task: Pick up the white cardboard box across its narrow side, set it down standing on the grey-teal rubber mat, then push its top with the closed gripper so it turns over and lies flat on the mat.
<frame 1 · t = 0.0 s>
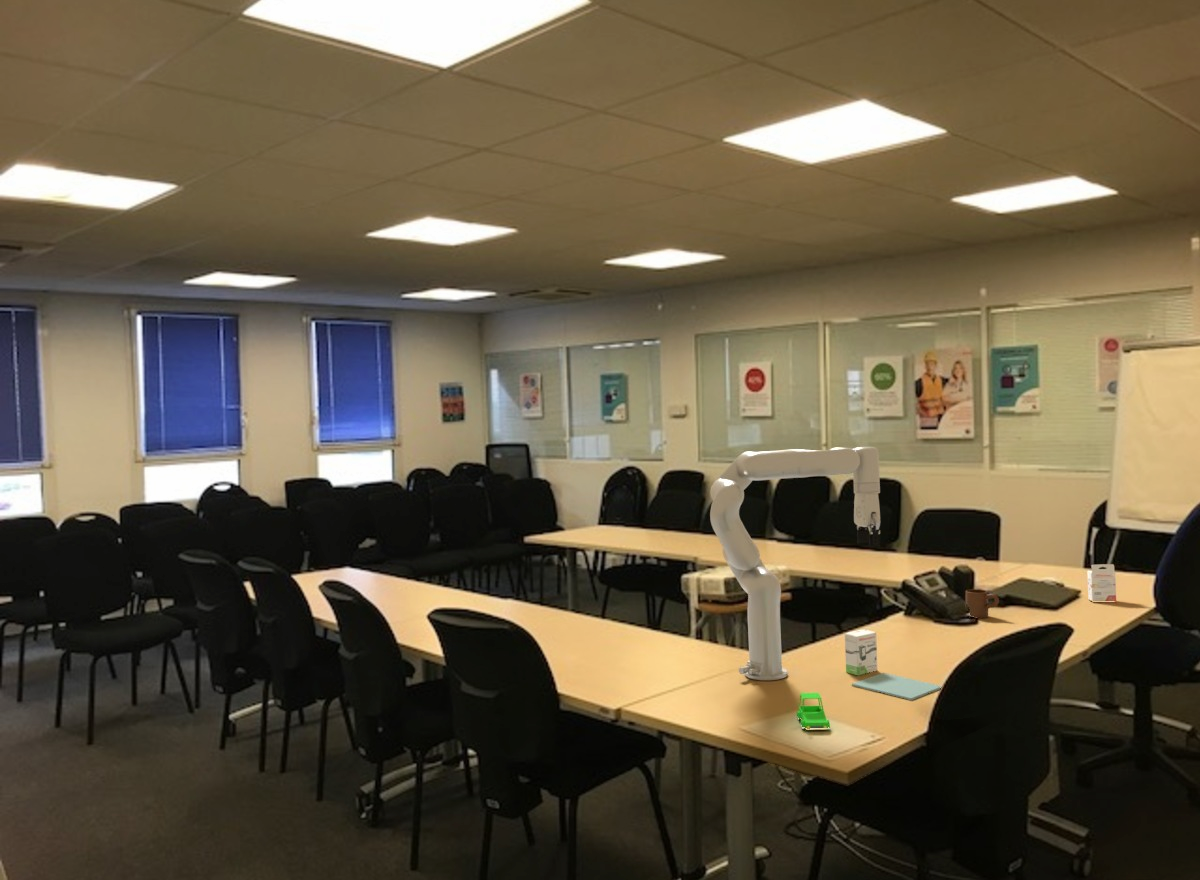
hand: (868, 545, 276), 37 cm above the table, tool pointing down, fingers open, 9 cm apart
ink cartridge box: (1102, 602, 352), on the table
mat: (896, 687, 258), on the table
white cardboard box: (861, 672, 275), on the table
toy car: (813, 725, 231), on the table
mug: (983, 618, 335), on the table
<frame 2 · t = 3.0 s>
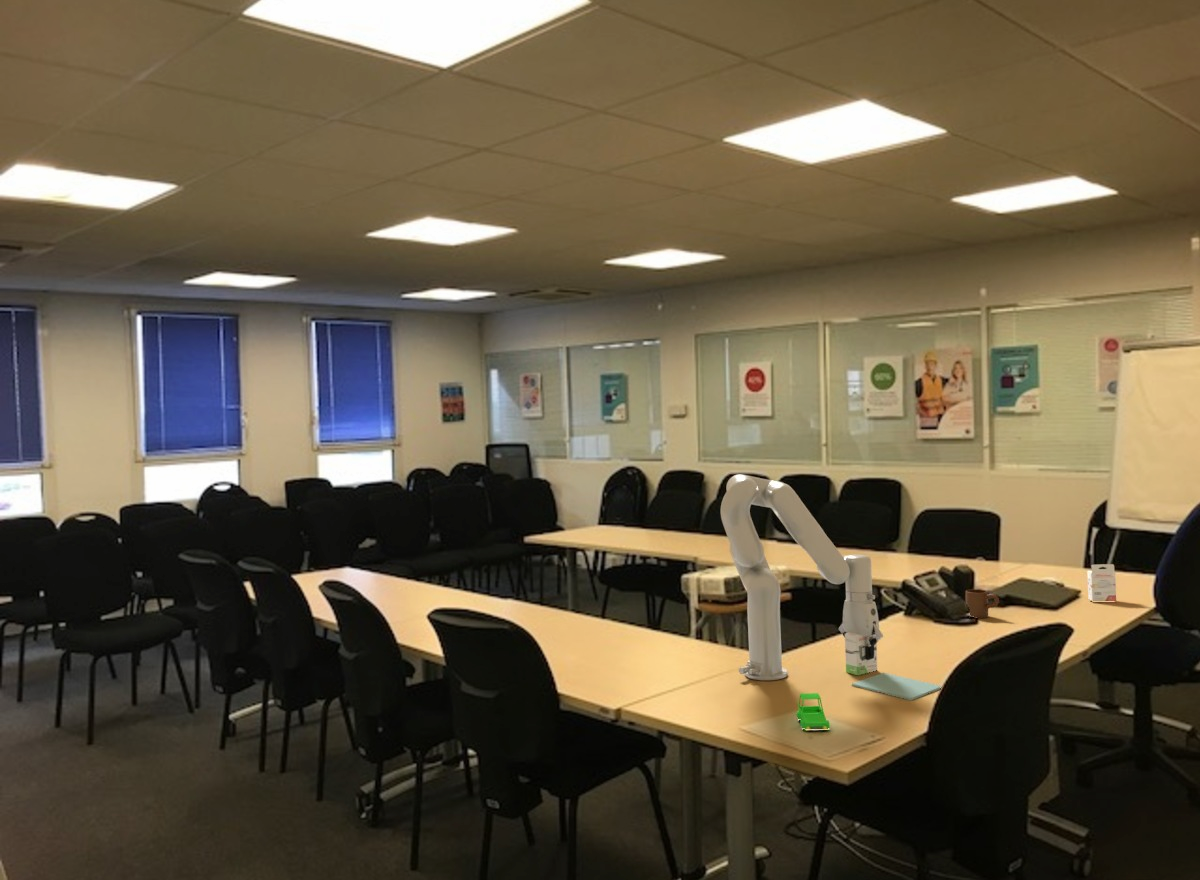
hand: (861, 656, 274), 5 cm above the table, tool pointing down, fingers closed on white cardboard box, 5 cm apart
white cardboard box: (861, 672, 275), on the table, touching gripper
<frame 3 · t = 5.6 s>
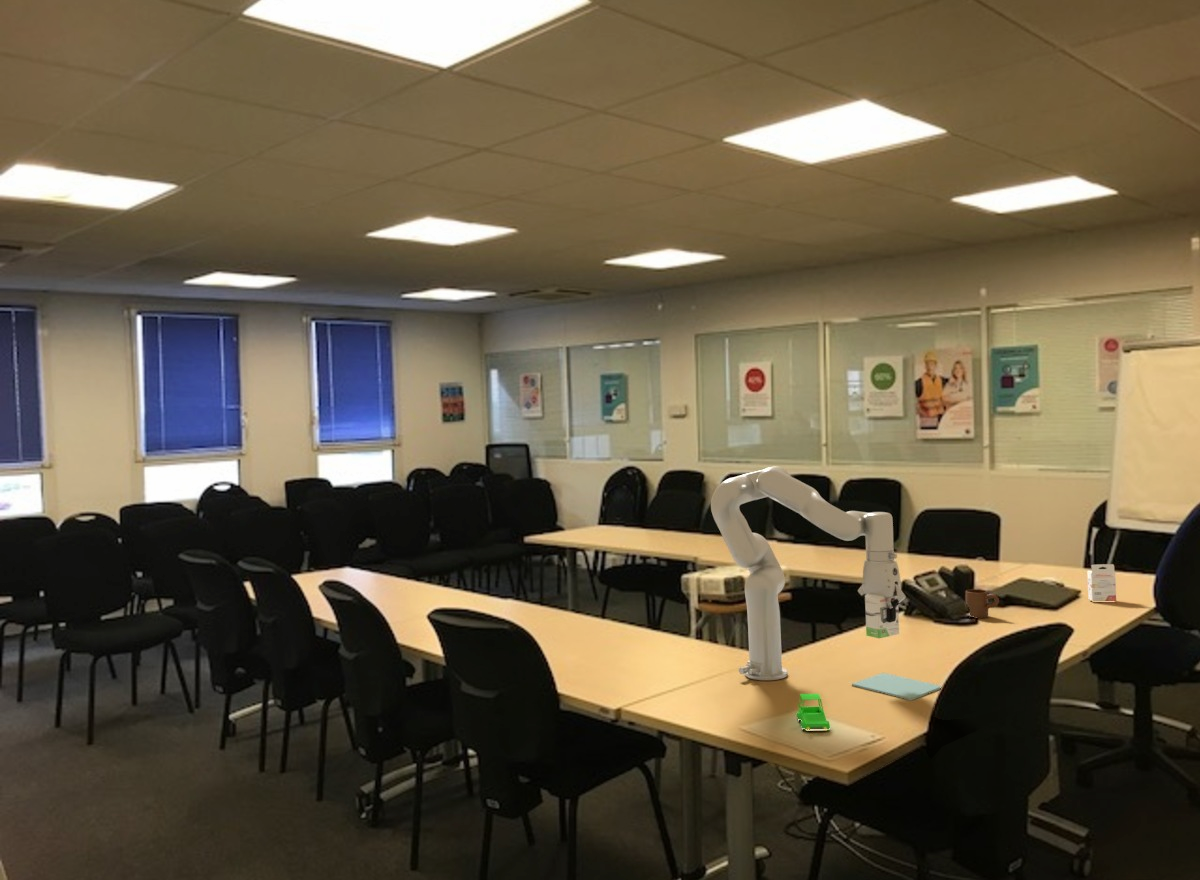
hand: (882, 619, 261), 19 cm above the table, tool pointing down, fingers closed on white cardboard box, 5 cm apart
white cardboard box: (882, 635, 261), point 14 cm above the table, touching gripper
when the fingers open (6 cm above the table, at t = 8.2 s): white cardboard box stays where it is, resting on mat.
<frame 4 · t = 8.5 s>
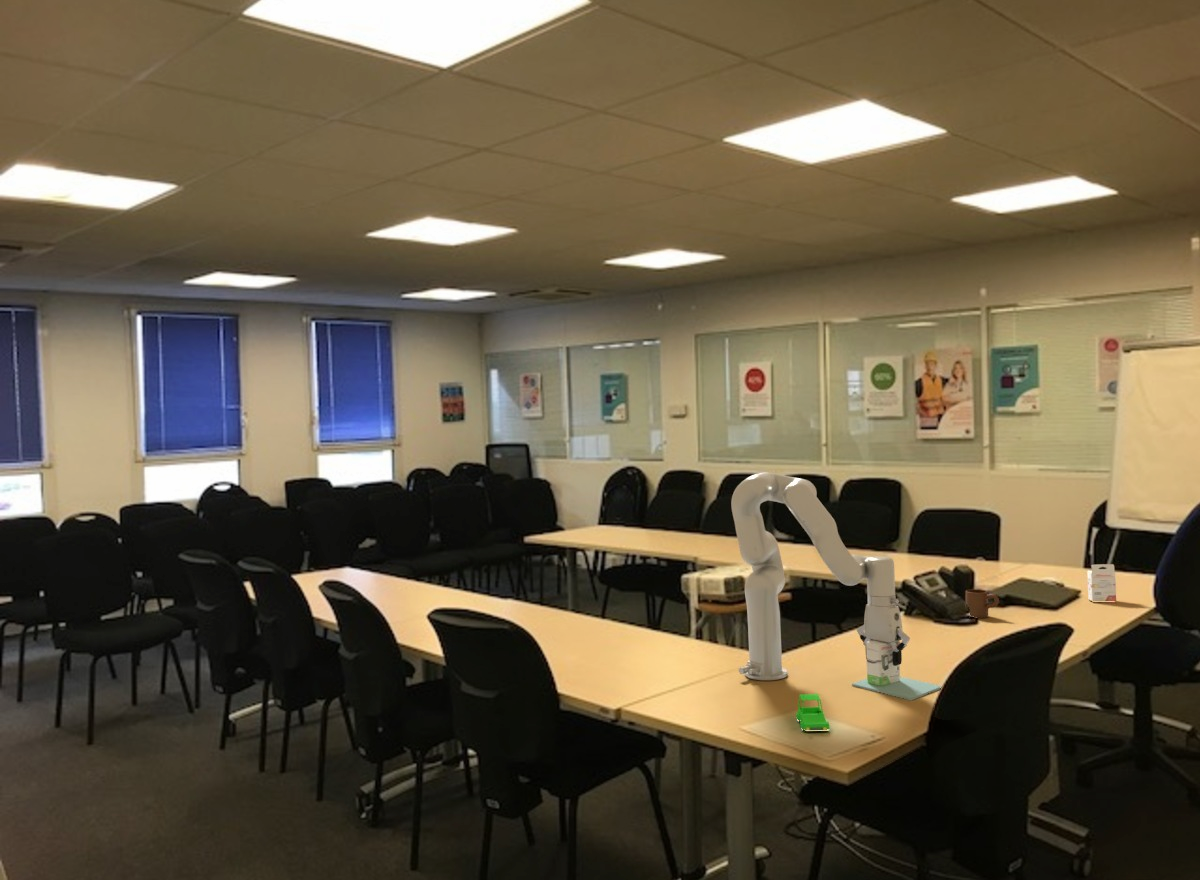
hand: (883, 661, 261), 6 cm above the table, tool pointing down, fingers open, 8 cm apart
white cardboard box: (883, 682, 261), resting on mat
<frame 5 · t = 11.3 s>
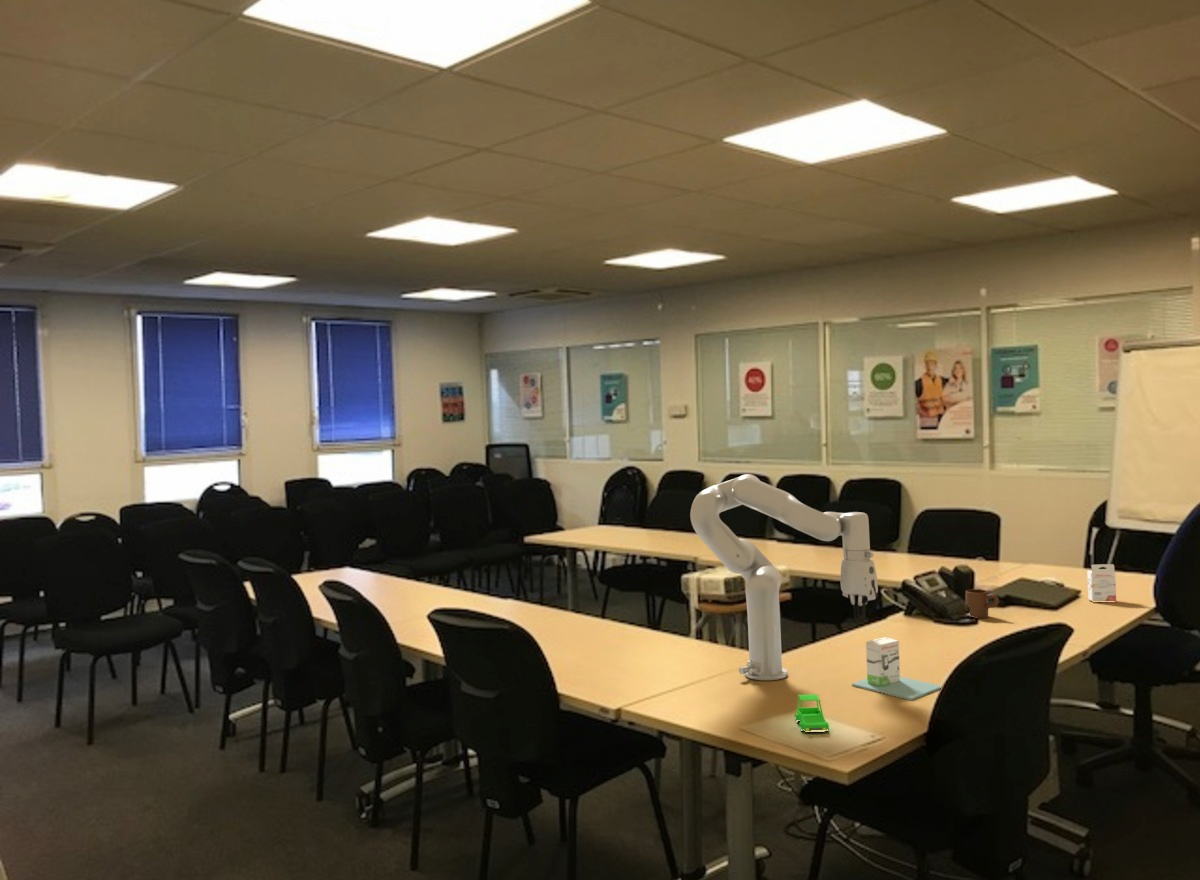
hand: (860, 618, 267), 18 cm above the table, tool pointing down, fingers closed
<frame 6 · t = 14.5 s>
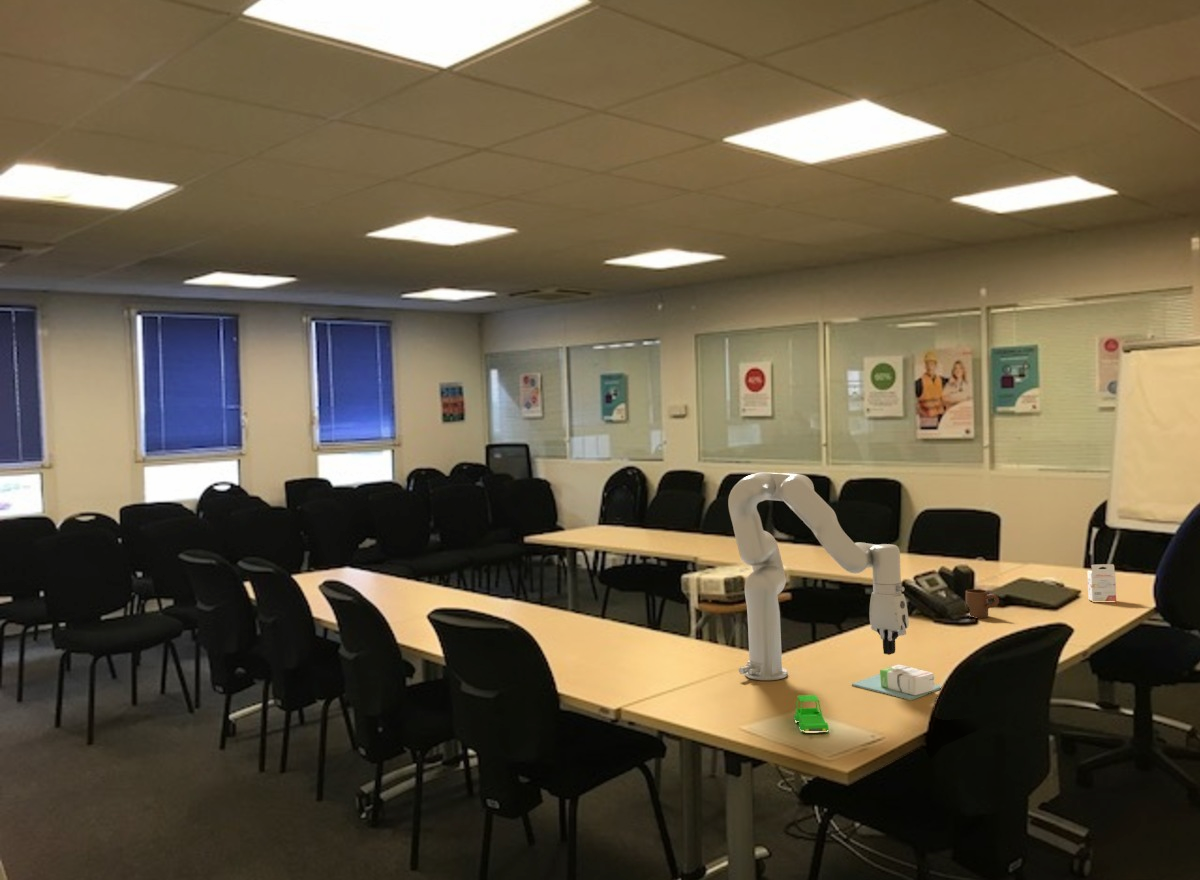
hand: (889, 653, 260), 9 cm above the table, tool pointing down, fingers closed
white cardboard box: (889, 674, 260), point 3 cm above the table, touching mat
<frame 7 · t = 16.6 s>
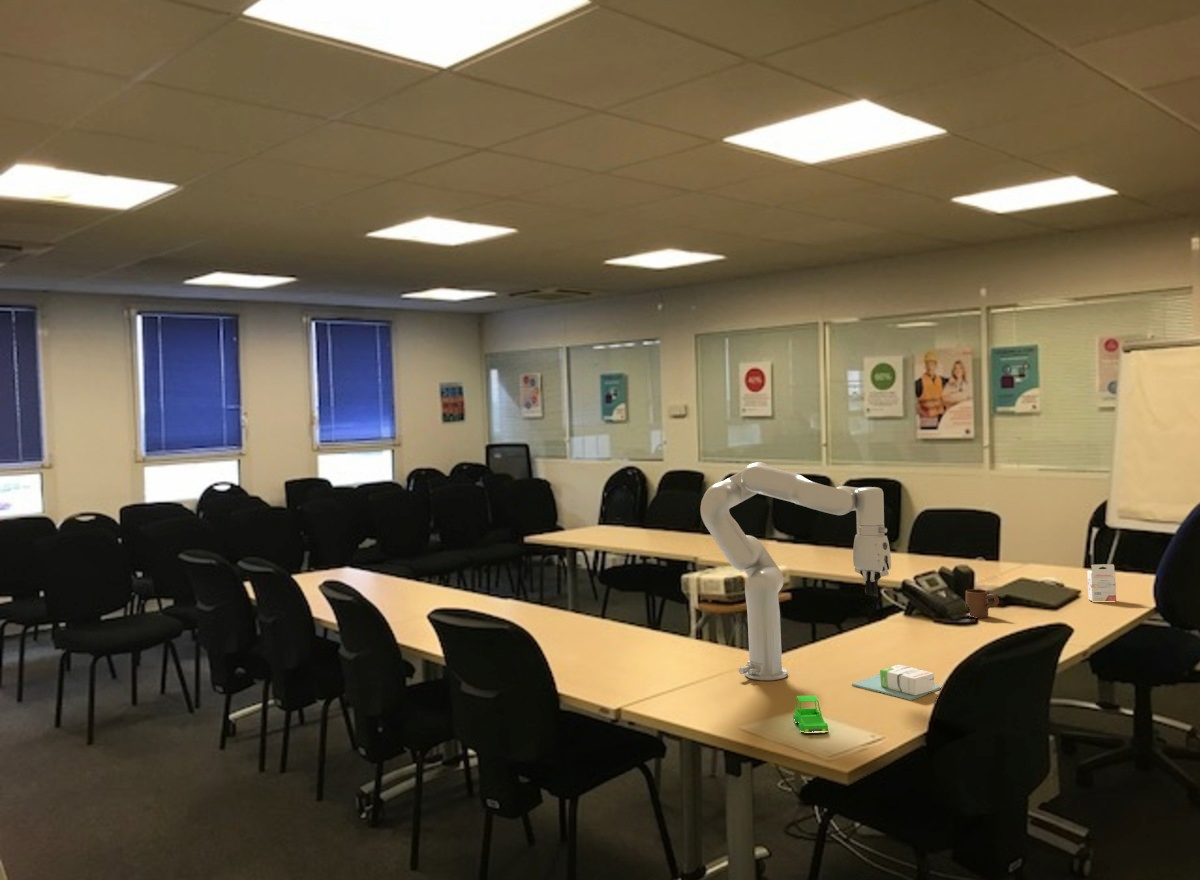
hand: (871, 594, 263), 25 cm above the table, tool pointing down, fingers closed
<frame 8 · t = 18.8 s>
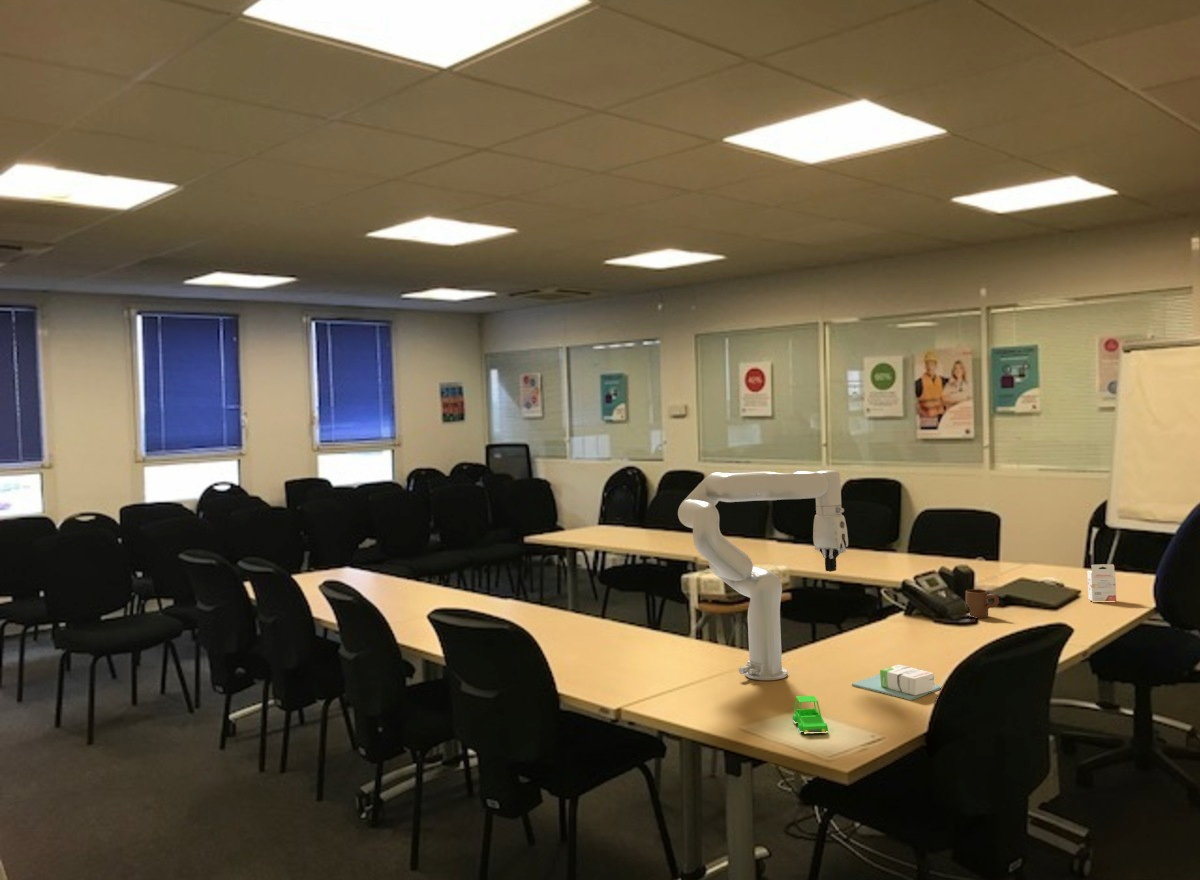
hand: (830, 570, 282), 29 cm above the table, tool pointing down, fingers closed
at the end: white cardboard box tilted 90°; white cardboard box inside the target area (4.2 cm from its centre), point 3.1 cm above the table; the gripper is holding nothing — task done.
